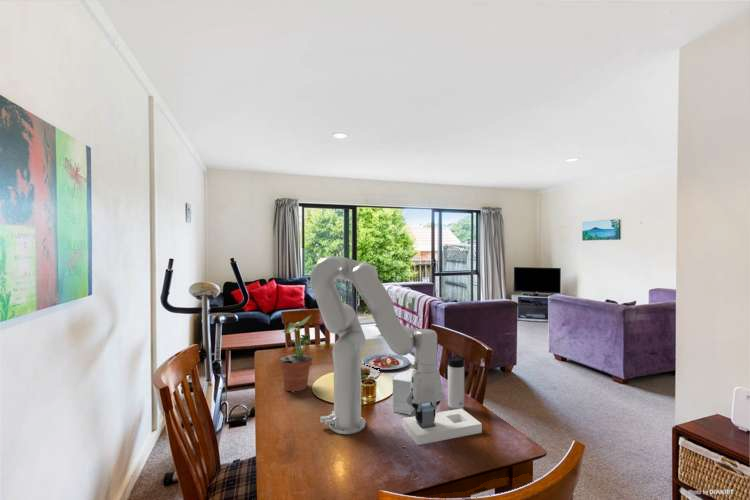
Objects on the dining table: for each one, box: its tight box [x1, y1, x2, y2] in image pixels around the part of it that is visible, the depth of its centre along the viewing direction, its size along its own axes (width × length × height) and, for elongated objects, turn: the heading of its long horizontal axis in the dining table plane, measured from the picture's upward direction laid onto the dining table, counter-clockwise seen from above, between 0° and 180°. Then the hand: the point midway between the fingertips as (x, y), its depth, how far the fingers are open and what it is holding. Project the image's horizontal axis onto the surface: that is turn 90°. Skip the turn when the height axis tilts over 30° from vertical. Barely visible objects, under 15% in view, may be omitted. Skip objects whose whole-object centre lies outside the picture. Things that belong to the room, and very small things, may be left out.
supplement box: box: [391, 372, 415, 416], centre depth 134 cm, size 7×7×13 cm
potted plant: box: [279, 314, 313, 392], centre depth 156 cm, size 16×15×35 cm
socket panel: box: [401, 409, 483, 446], centre depth 118 cm, size 24×12×3 cm, turn 109°
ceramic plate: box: [361, 353, 410, 371], centre depth 188 cm, size 26×26×3 cm
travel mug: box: [447, 355, 466, 410], centre depth 135 cm, size 6×7×20 cm
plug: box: [417, 403, 434, 429], centre depth 117 cm, size 4×4×9 cm
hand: (425, 420), depth 117 cm, fingers closed on plug, 4 cm apart
